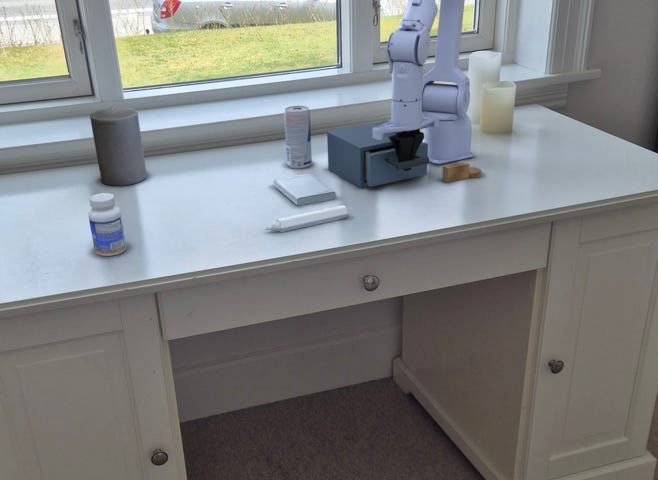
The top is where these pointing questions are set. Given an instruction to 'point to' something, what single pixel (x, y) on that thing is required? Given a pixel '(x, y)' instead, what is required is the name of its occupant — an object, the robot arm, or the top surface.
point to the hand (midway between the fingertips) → (405, 169)
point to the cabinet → (352, 150)
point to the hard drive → (304, 189)
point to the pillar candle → (118, 146)
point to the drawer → (393, 165)
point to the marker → (309, 219)
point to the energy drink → (298, 136)
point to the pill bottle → (106, 225)
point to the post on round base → (459, 172)
